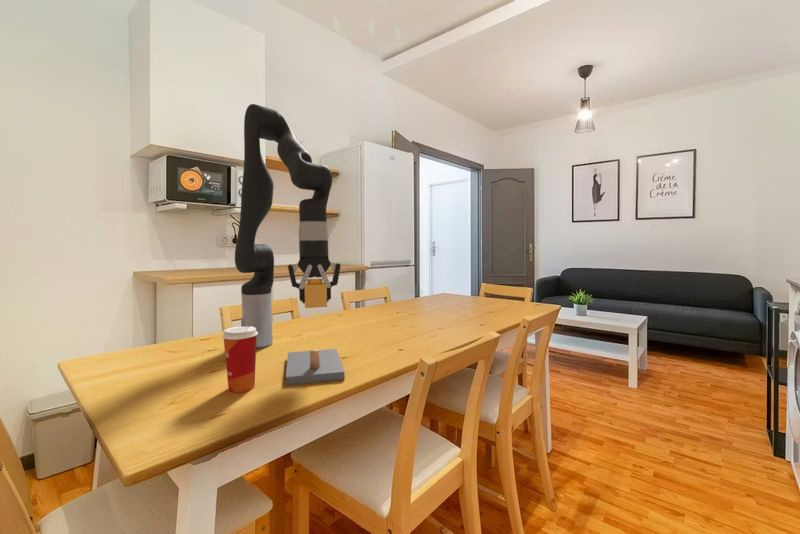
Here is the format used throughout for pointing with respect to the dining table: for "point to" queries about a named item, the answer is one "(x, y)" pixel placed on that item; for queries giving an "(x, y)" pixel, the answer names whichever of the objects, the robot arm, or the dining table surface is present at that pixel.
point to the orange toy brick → (315, 293)
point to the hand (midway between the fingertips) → (315, 301)
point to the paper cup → (240, 357)
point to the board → (313, 374)
